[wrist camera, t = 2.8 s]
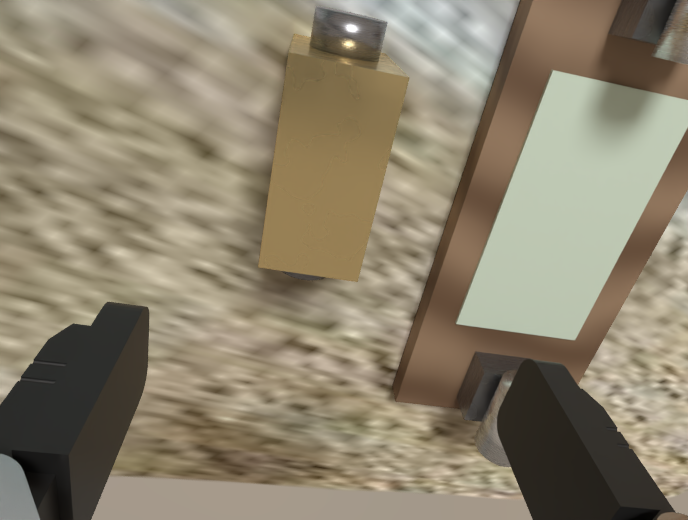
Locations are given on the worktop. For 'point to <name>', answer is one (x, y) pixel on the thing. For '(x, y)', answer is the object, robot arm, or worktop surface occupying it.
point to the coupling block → (331, 147)
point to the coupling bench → (554, 202)
